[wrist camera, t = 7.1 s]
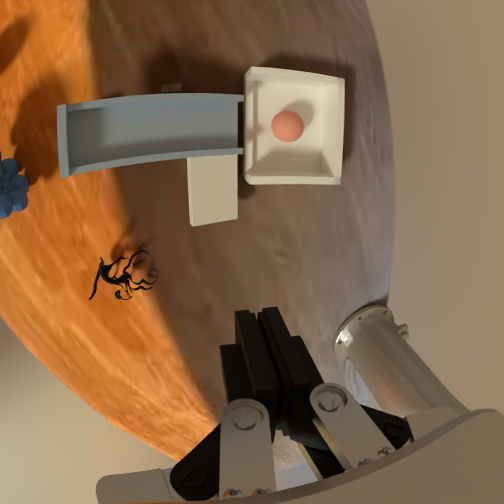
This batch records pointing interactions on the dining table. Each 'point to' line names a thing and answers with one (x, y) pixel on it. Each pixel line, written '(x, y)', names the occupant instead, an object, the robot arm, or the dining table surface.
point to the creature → (123, 278)
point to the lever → (159, 142)
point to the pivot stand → (171, 88)
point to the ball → (287, 126)
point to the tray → (314, 135)
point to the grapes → (12, 188)
